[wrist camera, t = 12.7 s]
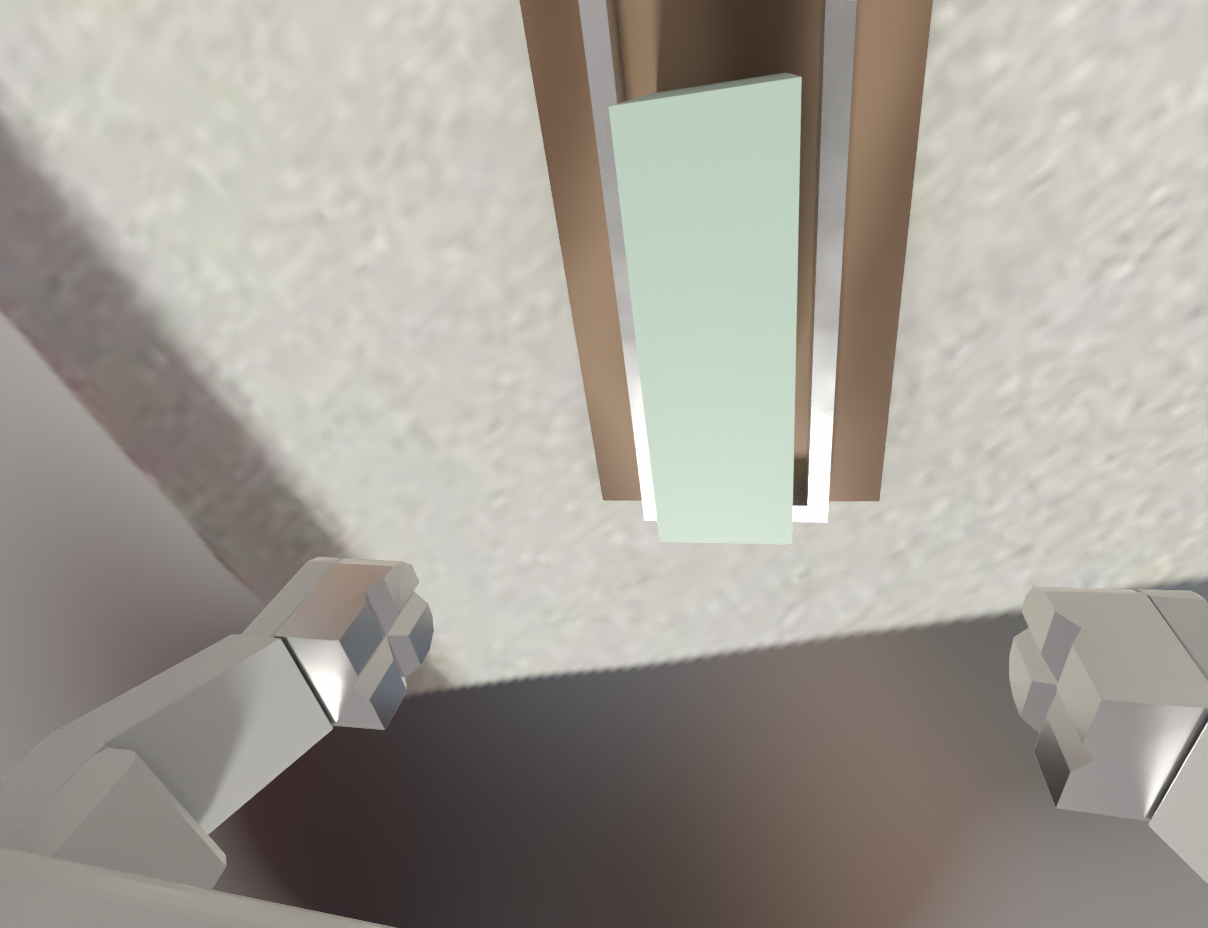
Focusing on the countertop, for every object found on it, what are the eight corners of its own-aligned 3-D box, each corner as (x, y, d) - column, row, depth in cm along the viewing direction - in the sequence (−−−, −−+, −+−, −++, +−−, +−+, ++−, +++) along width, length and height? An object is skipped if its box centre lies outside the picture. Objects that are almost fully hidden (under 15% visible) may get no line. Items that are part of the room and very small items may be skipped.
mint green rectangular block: (785, 72, 19) (801, 76, 13) (782, 419, 25) (792, 544, 19) (656, 92, 20) (608, 106, 14) (683, 421, 26) (659, 541, 20)
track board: (935, -120, 17) (946, -131, 16) (874, 485, 27) (879, 501, 26) (525, -33, 20) (513, -37, 19) (608, 486, 30) (603, 500, 29)
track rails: (856, -112, 17) (864, -126, 16) (824, 500, 27) (827, 521, 26) (582, -52, 19) (570, -61, 17) (649, 500, 29) (644, 520, 28)
